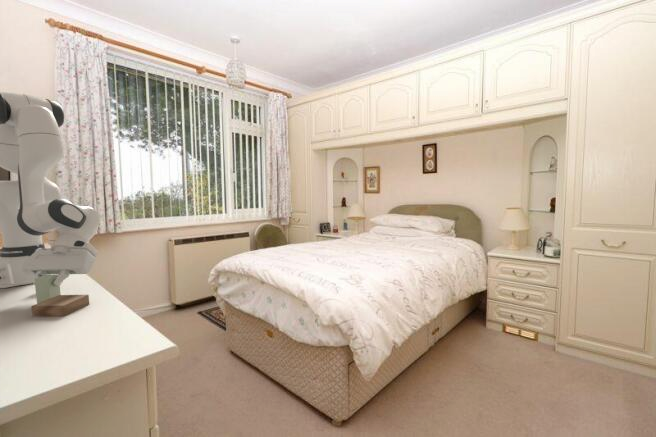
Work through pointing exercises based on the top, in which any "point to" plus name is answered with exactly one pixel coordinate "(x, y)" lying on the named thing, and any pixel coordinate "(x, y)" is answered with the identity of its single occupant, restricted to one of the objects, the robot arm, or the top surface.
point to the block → (46, 288)
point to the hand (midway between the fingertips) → (45, 285)
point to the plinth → (60, 305)
